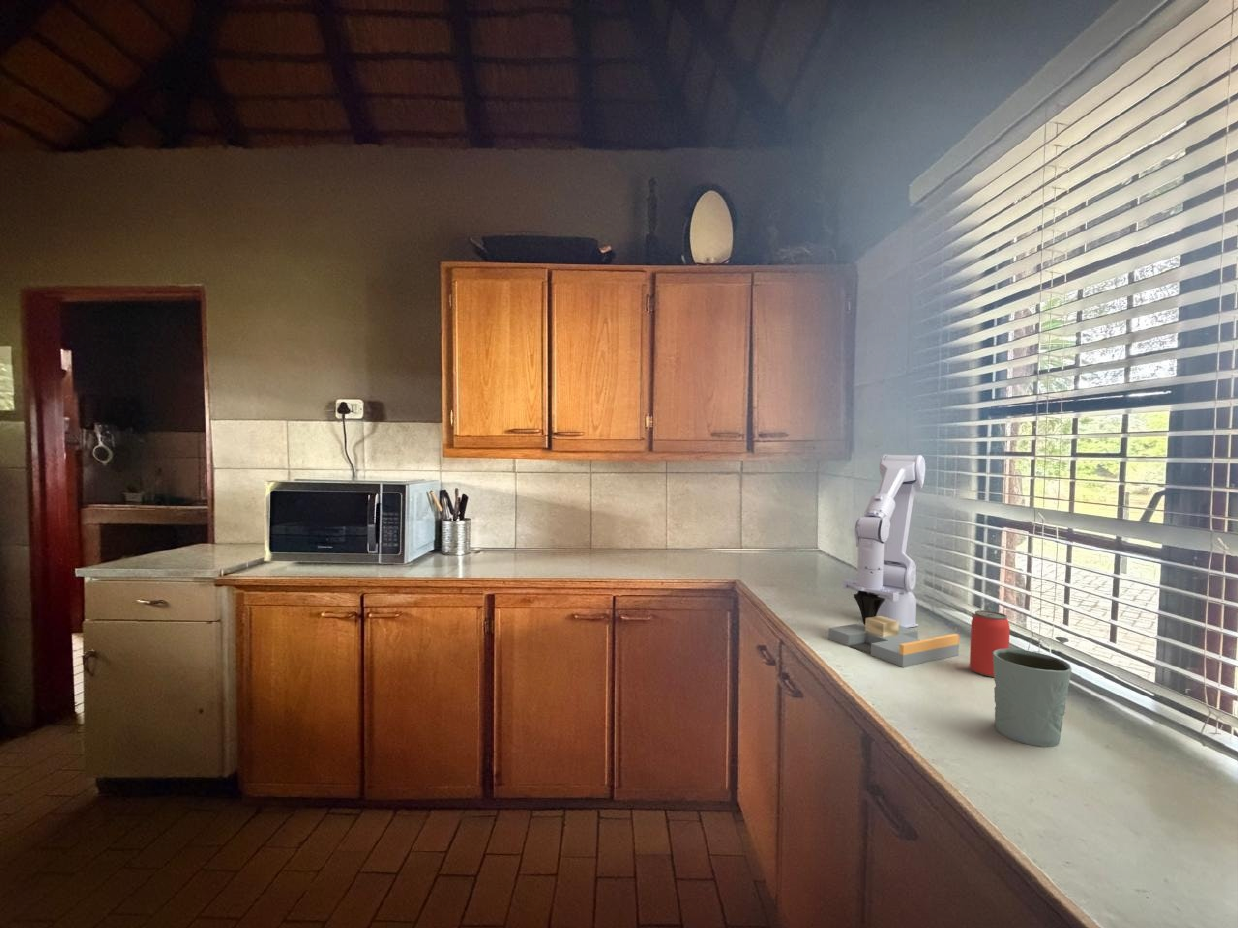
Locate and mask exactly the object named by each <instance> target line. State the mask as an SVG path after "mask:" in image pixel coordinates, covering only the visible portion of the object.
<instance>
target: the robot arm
mask: <svg viewBox="0 0 1238 928" xmlns="http://www.w3.org/2000/svg"><path fill="white" fill-rule="evenodd" d="M879 472H880V476H881V481H880V486H879V489H878V492H877V493H875V494H873V495H872V496H871V498H870V500H869V502H868V504H867V506H866V509H865V511H864V514H863V515H862V516H861V517H858V518H857V519H856V521H855V524H854V530H853V531H854V532H853V533H854V537H855V547H856V548H857V569H856V571H857V572H856V580H852V579H849V578H848V579H843V580H842V588H843V589H849V590H851V591H852V590H853V591H856V592H857V593H854V594H853V598H854V600H855V601H856V603H857V605H858V608H859V611H860V615H861V619H862V623H863V624H864V625H865V621H866V618H869V617H876V616H883V617H886V618H889V619H893V620H896V621H899V625H900V626H903V627H906V628H909V629H911V628H914V627H918V626H919V624H918V623H916V619H917V617H916V616H917V615H916V614H917V613H916V612H917V600H916V599H917V598H916V596H915V594H914V593H913V590H914V589H915V588H916V587H915V586H916V582H917V573H916V571H917V565H916V563H915V561H914V560H913V559H912V558H911V557H910V556H908V554H907V548H908V547H907V546H908V539H909V533H910V527H911V519H912V513H913V512H912V511H913V504H914V500H915V496H916V493H917V492H918V491H921V490H922V489H923V486H924V484H925V483H924V482H925V477H926V460H925V458H924V456H922V455H921V454H917V455H915V454H913V455H912V454H911V455H905V454H904V455H903V454H896V455H895V454H886V453H885V454H883V455H882V456H881V458H880V461H879ZM885 544H886V545H885Z"/></svg>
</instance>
